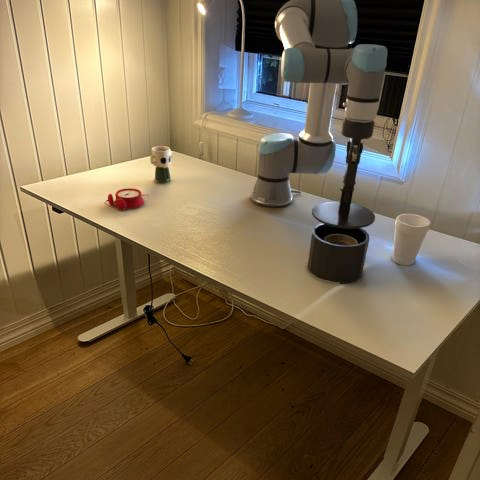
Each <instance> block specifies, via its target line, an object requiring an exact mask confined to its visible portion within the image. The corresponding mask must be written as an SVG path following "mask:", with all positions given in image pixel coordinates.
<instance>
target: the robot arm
mask: <svg viewBox="0 0 480 480" xmlns="http://www.w3.org/2000/svg"><path fill="white" fill-rule="evenodd" d="M274 29H275V33H276V36H277V38H278V40H279V41H281V42H282V44H283V48H284V49H283V51H282V54H281V55H282V56H281V62H280V63H281V64H280V66H281V67H280V73H281V74H280V77H281V79H282V81H284V82H286V83H293V84H309V90H308V98H307V107H306V113H305V121H304V129H303V130H301V131H300V132H299V136H298V138H294V136H293V135H292V134H290V133H284V132H277V133H276V132H275V133H271V134H268V135H265V136H263V137H262V138H261V139H260V140H259V148H258V151H257V152H258V153H257V154H258V163H257V164H258V165H257V177H256V178H257V179H256V181H255V184H254V186H253V189H252V192H251V201H252V202H253V203H255V204H256V205H259V206H262V207H267V208H268V207H269V208H280V207H281V208H282V207H285V206H288V205H290V204H292V202H293V201H292V200H293V194H294V193H295V194H301V192H302V191H300V190H292V189H291V185H290V174H307V175H308V174H309V175H319V174H320V175H321V174H322V175H323V174H327V173H328V172H329V171H330V170H331V168H332V167H333V164H334V161H335V158H336V149H337V145H336V141H335V140H334V139H333V135H332V134H331V132H330V128H331V123H332V116H333V110H334V104H335V99H336V98H335V97H336V92H337V86H338V85H348V88H347V94H346V102H343V103H342V107H343V108H344V113H343V116H344V118H343V119H342V126H341V136H343V137H345V138H350V139H349V141H346V146H345V148H346V149H345V151H346V153H345V168H344V175H343V180H342V183H343V184H342V185H341V187H340V188H339V191H341V192H342V195H341V194H340V198H341V201H340V200H339V202H340V207H339V214H345V215H349V211H350V205H351V203H352V199H353V194H354V191H355V186H356V179H357V172H358V167H359V165H360V163H361V156H362V153H363V152H364V142H362V140H368V139H370V138H372V137H373V134H374V129H375V124H376V122H375V119H376V118H377V115H378V109H379V103H380V97H381V92H382V86H383V82H384V81H383V80H384V77H385V76H384V75H385V71H386V70H385V69H386V68H387V64H388V63H387V58H388V48H387V47H386V46H384V45H379V44H373V43H372V44H371V43H370V44H369V43H368V44H367V43H366V44H363V43H361V44H357V45H356V46H355V47H352V48H349V49H348V47H349V44H350V45H351V44H353V43H354V42H355V40H356V37H357V31H358V9H357V5H356V3H355V0H288V1H287V2H286V3H285V4H283V6H282V7H280V9H279V10H278V12H277V14H276V16H275V21H274ZM343 185H344V187H343V188H342V186H343Z"/></svg>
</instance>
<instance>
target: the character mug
mask: <svg viewBox="0 0 480 480" xmlns="http://www.w3.org/2000/svg"><path fill="white" fill-rule="evenodd" d="M149 159H150V164H151V165H153V166H154V167H155V171H154V181H155V182H158V183H162V184H165V183H168V182H170V181H171V174H170V168H169V167H170V166H171V164H172V160H173V151H172V150H171V148H170V147H169V146H166V145H157V146H153V147H151V155H150V158H149Z"/></svg>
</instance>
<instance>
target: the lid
mask: <svg viewBox="0 0 480 480" xmlns="http://www.w3.org/2000/svg"><path fill="white" fill-rule="evenodd" d="M342 185H343V186H342ZM342 185H341V188H343V187H344V184H342ZM341 195H342V192H341V193H340V196H341ZM340 201H341V197H340V198H339V201H326V202H321V203H318V204H316V205H315V206H314V207H313V208H312V209H311V215H312V217H313V218H314V219H315V220H316V221H318V222H320V224H322V223H323V224H326V225H329V226H333V227H338V228H347V229H355V228H362V229H364V228H367V227H369V226H371V225H373V224H374V222H375V220H376V216H375V213H374V212H373V211H372V210H371V209H369V208H367V207H365V206H363V205H360V204H357V203H352V202H351V205H350V211H349V215H345V214H339V207H340Z"/></svg>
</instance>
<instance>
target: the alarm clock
mask: <svg viewBox="0 0 480 480" xmlns="http://www.w3.org/2000/svg"><path fill="white" fill-rule="evenodd" d="M114 193H115V194H114V196H115V200H114V196H113V194H112V193H109V194H108V195H107V199H106V201H105V202H104V205H106V206H108V207H115V208H116V209H117V210H119V211H125V210H126V209H131V210H132V209H136V208H140V207H142V206H144V204H145V199H144V198H143V197H144V196H145V194H143V193H142V191H141V190H140V189H137V188H130V187H129V188H128V187H127V188H122V189H121V188H120V189H119V190H117V191H115V192H114ZM146 196H149V194H148V193H147V194H146Z"/></svg>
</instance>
